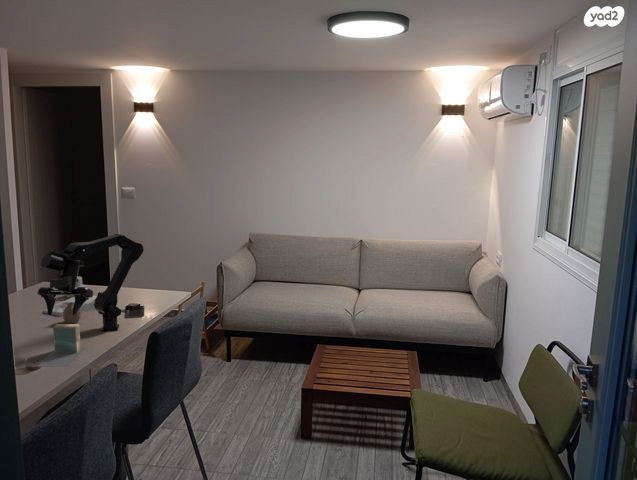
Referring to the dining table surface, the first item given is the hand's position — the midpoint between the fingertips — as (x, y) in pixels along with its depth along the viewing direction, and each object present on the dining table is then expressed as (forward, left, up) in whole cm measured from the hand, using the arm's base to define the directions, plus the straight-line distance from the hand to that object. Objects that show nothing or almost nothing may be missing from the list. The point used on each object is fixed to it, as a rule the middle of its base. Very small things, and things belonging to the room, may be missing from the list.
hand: (61, 314), depth 185 cm
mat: (+8, +1, -13) cm, 16 cm away
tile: (+3, +2, -13) cm, 14 cm away
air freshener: (-70, -9, -14) cm, 72 cm away
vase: (-31, -3, -14) cm, 34 cm away
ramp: (-49, -5, -14) cm, 51 cm away
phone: (-40, +22, -14) cm, 47 cm away
